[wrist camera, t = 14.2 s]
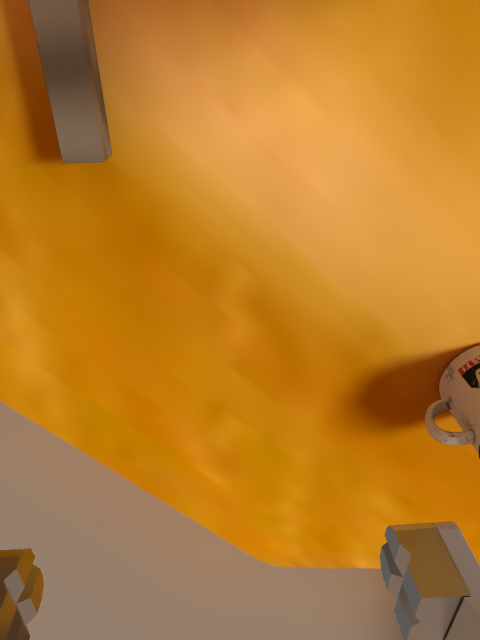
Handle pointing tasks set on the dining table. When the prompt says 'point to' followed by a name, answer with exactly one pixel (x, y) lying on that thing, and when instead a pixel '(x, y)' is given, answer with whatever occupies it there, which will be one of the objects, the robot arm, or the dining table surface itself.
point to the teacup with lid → (459, 400)
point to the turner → (72, 78)
